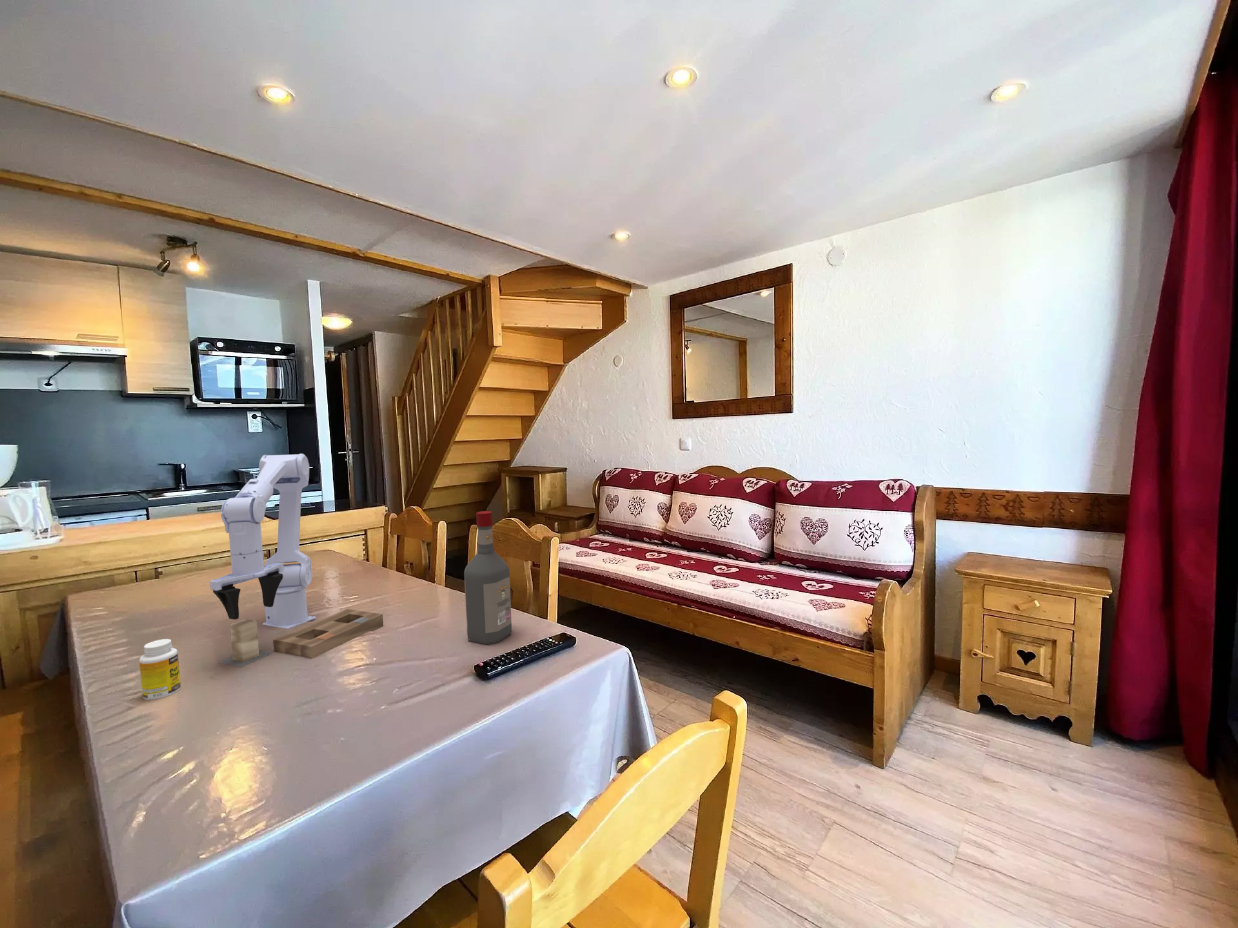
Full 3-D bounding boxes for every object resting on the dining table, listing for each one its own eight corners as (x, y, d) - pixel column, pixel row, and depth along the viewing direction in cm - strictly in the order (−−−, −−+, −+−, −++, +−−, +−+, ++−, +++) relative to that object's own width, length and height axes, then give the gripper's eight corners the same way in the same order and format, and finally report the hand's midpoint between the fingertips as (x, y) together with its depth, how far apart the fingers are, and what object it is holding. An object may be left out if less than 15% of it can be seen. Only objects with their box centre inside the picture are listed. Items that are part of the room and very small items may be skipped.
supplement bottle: (176, 697, 99) (171, 645, 98) (138, 704, 96) (132, 651, 96) (185, 684, 104) (180, 634, 103) (149, 690, 101) (144, 640, 101)
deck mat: (218, 664, 112) (218, 662, 112) (251, 650, 119) (251, 648, 119) (240, 668, 110) (240, 667, 110) (272, 654, 116) (272, 653, 116)
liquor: (516, 631, 126) (511, 510, 124) (492, 646, 118) (487, 516, 116) (486, 626, 130) (481, 508, 128) (461, 640, 122) (455, 514, 119)
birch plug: (233, 659, 113) (229, 624, 113) (248, 653, 117) (245, 618, 116) (243, 662, 112) (240, 626, 111) (259, 655, 115) (256, 620, 115)
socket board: (274, 652, 118) (273, 639, 117) (348, 619, 136) (347, 608, 136) (312, 659, 113) (311, 646, 113) (383, 625, 132) (382, 613, 132)
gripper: (224, 561, 105) (229, 626, 106) (291, 545, 118) (295, 602, 120) (201, 559, 107) (206, 622, 108) (269, 543, 121) (273, 599, 122)
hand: (251, 612), depth 114 cm, fingers open, 7 cm apart
